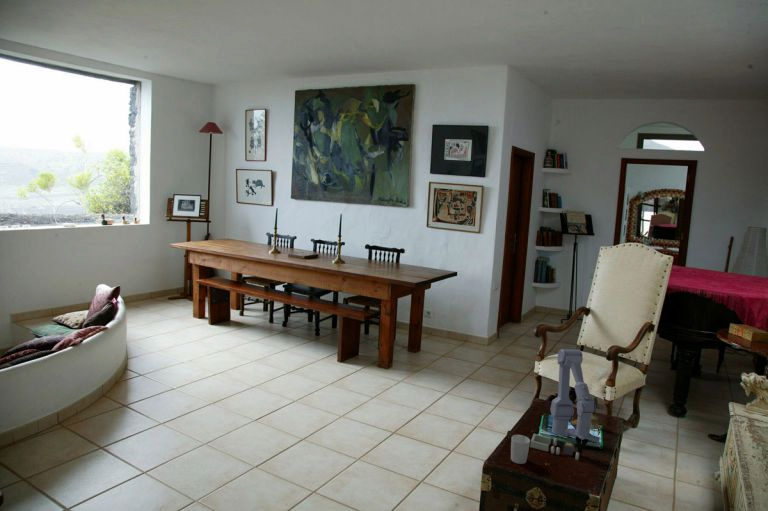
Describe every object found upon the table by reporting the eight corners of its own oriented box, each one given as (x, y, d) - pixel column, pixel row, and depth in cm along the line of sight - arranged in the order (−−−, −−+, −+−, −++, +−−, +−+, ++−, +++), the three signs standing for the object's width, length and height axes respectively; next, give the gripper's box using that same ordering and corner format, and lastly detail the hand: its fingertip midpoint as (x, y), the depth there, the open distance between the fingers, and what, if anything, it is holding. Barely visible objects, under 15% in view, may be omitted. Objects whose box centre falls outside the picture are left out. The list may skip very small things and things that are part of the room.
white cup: (528, 466, 228) (530, 444, 227) (509, 463, 230) (511, 441, 228) (527, 457, 236) (529, 436, 234) (509, 454, 237) (511, 433, 236)
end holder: (533, 439, 252) (533, 433, 252) (550, 443, 249) (551, 437, 249) (530, 447, 245) (530, 441, 244) (547, 451, 241) (548, 445, 241)
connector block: (564, 449, 244) (565, 441, 244) (573, 452, 243) (574, 443, 242) (563, 453, 241) (564, 445, 240) (572, 456, 239) (573, 447, 239)
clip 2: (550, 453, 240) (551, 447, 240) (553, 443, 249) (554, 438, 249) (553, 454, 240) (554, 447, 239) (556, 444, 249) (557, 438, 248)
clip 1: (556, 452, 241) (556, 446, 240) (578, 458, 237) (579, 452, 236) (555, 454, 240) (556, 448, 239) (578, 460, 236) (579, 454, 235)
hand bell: (600, 432, 265) (604, 402, 262) (583, 428, 268) (587, 398, 265) (600, 425, 272) (604, 396, 270) (583, 421, 275) (587, 392, 273)
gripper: (565, 424, 237) (562, 452, 239) (600, 432, 231) (596, 461, 233) (567, 418, 243) (564, 445, 245) (601, 426, 237) (597, 454, 239)
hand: (580, 452), depth 239 cm, fingers closed
